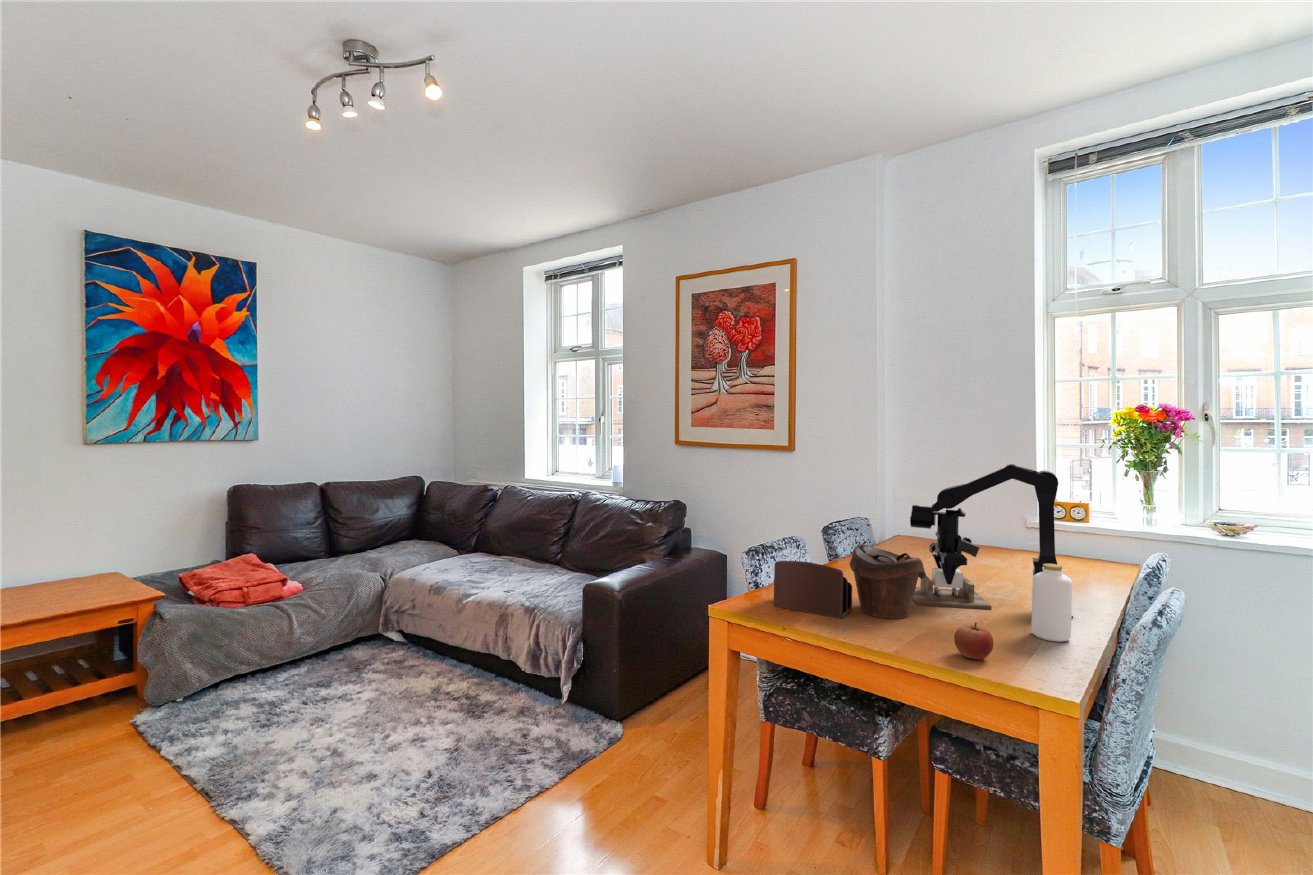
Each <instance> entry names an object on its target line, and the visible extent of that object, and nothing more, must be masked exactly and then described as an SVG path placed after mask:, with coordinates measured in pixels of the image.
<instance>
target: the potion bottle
mask: <svg viewBox="0 0 1313 875" xmlns="http://www.w3.org/2000/svg"><path fill="white" fill-rule="evenodd" d="M1042 569H1043V572H1040V573H1037V574H1035V575H1034V576H1033V575H1032V588H1031V589H1032V591H1031V592H1032V594H1031V596H1032V597H1031V598H1032V599H1031V633H1032V635H1034V636H1035V637H1036V638H1039V639H1041V640H1045V641H1048V642H1054V643H1055V642H1056V643H1060V642H1061V643H1062V642H1067V641H1069V640H1070V639H1071V638H1072V618H1071V616H1073V615H1072V613H1073V610H1072V609H1073V606H1072V604H1073V581H1072V580H1073V579H1071V578H1070V577H1068V576H1067V575H1065V574H1063V572H1064V569H1063V565H1060V564H1058V563H1057V564H1043V567H1042Z"/></svg>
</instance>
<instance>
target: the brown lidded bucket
mask: <svg viewBox="0 0 1313 875" xmlns="http://www.w3.org/2000/svg"><path fill="white" fill-rule="evenodd" d="M849 567H850V569H851V571H852V572H853V575H854V581H855V586H856V590H857V592H856V593H857V597H858V602H859V606H860V610H861V611H862V612H863V613H864V614H867V615H869V616H872V617H874V618H879V619H880V618H881V619H889V620H890V619H893V620H894V619H895V620H897V619H898V620H899V619H904V618H907V617H909V616H910V613H911V608H912V602H913V601H914V600H913V596H914V592H915V588H916V587H917V584H918V581H919V580H918V579H920V580H921V579H923V578H924V577H925V576H927V573H926V570H925V568H924V564H923V561H922V559H920V558H919V557H911V555H910V554H908V553H907V552H904V553H901V554H897V553H894V552H891V551H887V550H885V549H882V548H878V547H875V546H872V545H868V544H864V543H863V544H861V543H859V544H857V545H856V546H855V547H854V548H853V550H852V554H851V558H850V560H849Z"/></svg>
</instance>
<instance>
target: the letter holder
mask: <svg viewBox="0 0 1313 875" xmlns="http://www.w3.org/2000/svg"><path fill="white" fill-rule="evenodd" d="M773 573H774V574H773V576H774V579H773V602H772V603H773V604H772V605H773V607H776V608H782V609H786V610H791V611H792V610H793V611H796V612H803V613H809V614H813V615H818V616H824V617H829V618H834V619H839V620H842V619H843V618H844V617H845V616H846V615H847V614H849V613H850V612H851V611H852V610H853V585H852V583H851V582H849V581H848V579H847V577H846V576H844V573H843V571H842V570H841V569H839V568H835V567H831V566H828V565H823V564H819V563H813V562H808V561H800V560H778V561H777V560H776V561H775V563H774V572H773Z"/></svg>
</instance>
